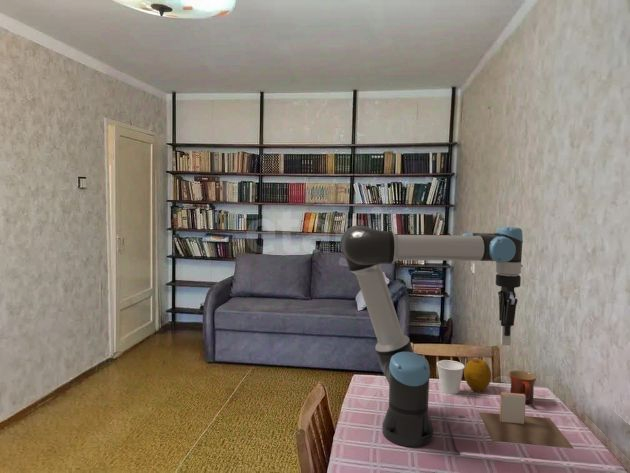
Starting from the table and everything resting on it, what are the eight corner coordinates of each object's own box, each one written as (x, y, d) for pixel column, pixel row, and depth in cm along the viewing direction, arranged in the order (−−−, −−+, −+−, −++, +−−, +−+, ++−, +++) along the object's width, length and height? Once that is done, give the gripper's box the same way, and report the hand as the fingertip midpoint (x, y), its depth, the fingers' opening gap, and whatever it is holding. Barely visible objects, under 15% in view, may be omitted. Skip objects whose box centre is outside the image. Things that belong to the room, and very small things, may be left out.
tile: (501, 422, 138) (502, 394, 138) (499, 419, 140) (500, 392, 139) (524, 424, 137) (525, 396, 137) (522, 421, 139) (524, 394, 138)
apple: (471, 382, 173) (472, 353, 172) (495, 390, 166) (496, 359, 165) (458, 388, 166) (459, 358, 166) (483, 397, 159) (484, 365, 158)
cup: (431, 388, 166) (432, 360, 165) (456, 387, 167) (457, 359, 166) (441, 400, 156) (442, 370, 156) (468, 399, 157) (469, 369, 157)
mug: (505, 396, 160) (506, 369, 159) (531, 399, 158) (532, 371, 158) (513, 411, 148) (514, 382, 148) (541, 414, 147) (542, 384, 146)
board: (492, 444, 127) (492, 440, 127) (478, 415, 145) (478, 412, 145) (573, 452, 124) (573, 448, 124) (549, 421, 142) (549, 418, 142)
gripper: (527, 277, 137) (523, 351, 139) (514, 271, 150) (511, 339, 151) (501, 276, 138) (499, 350, 140) (491, 270, 151) (488, 338, 152)
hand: (505, 344), depth 146 cm, fingers closed
